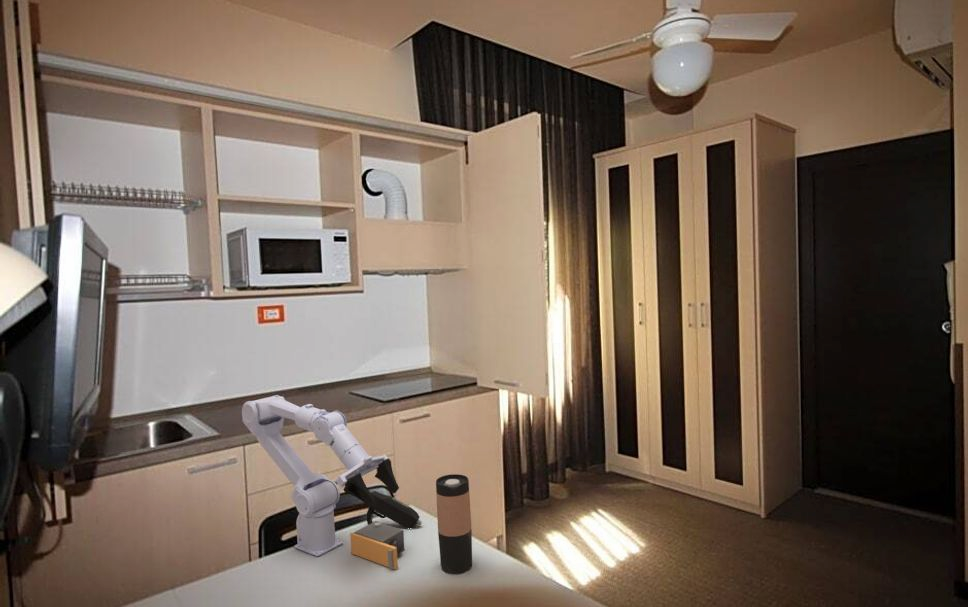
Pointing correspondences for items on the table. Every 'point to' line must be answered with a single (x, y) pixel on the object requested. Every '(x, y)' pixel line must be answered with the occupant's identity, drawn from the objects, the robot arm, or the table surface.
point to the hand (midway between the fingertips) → (384, 497)
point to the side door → (374, 550)
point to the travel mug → (454, 523)
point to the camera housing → (384, 534)
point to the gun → (393, 511)
